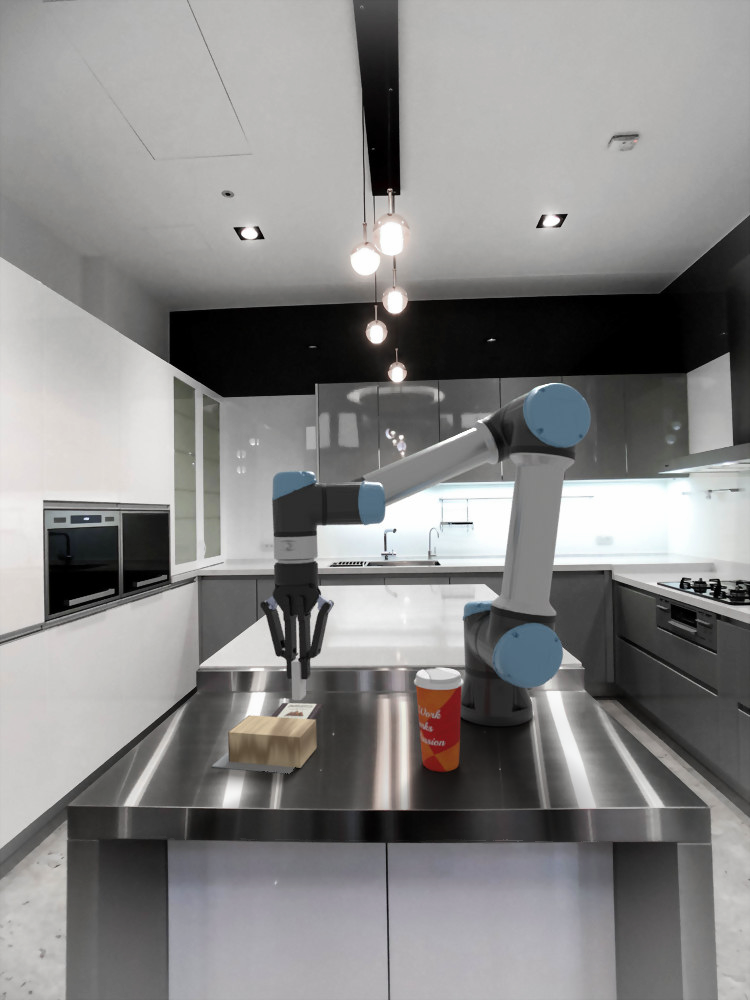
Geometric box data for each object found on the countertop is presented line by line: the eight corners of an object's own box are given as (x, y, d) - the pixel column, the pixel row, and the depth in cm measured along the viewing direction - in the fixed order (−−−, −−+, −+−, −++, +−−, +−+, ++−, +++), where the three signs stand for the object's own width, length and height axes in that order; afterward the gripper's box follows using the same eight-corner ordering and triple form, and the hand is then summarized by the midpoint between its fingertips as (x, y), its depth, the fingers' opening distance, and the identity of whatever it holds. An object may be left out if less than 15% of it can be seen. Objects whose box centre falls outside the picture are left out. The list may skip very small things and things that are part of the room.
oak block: (315, 719, 103) (249, 715, 106) (299, 737, 95) (228, 732, 98) (316, 747, 103) (249, 742, 106) (300, 767, 95) (228, 761, 98)
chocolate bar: (254, 735, 108) (282, 703, 126) (254, 740, 108) (282, 707, 126) (301, 737, 107) (322, 704, 125) (301, 742, 107) (322, 708, 125)
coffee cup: (408, 758, 98) (405, 670, 98) (450, 749, 101) (448, 664, 101) (429, 779, 90) (427, 683, 90) (475, 769, 93) (473, 676, 93)
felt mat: (315, 743, 105) (314, 742, 105) (290, 773, 93) (290, 772, 93) (244, 738, 108) (244, 737, 108) (212, 766, 97) (212, 765, 97)
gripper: (251, 563, 98) (254, 702, 97) (324, 562, 94) (328, 707, 94) (269, 558, 105) (272, 688, 105) (338, 558, 102) (341, 692, 102)
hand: (299, 697), depth 99 cm, fingers closed
